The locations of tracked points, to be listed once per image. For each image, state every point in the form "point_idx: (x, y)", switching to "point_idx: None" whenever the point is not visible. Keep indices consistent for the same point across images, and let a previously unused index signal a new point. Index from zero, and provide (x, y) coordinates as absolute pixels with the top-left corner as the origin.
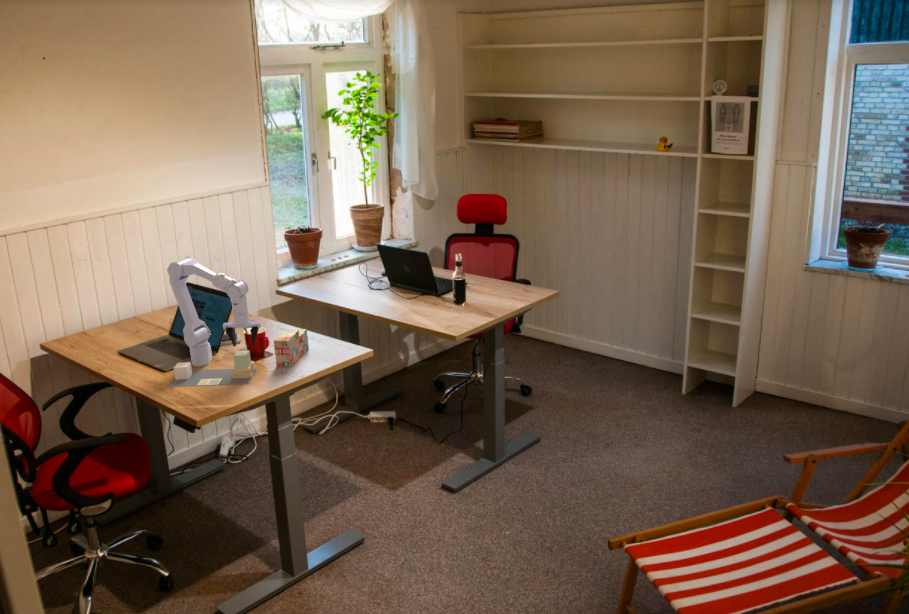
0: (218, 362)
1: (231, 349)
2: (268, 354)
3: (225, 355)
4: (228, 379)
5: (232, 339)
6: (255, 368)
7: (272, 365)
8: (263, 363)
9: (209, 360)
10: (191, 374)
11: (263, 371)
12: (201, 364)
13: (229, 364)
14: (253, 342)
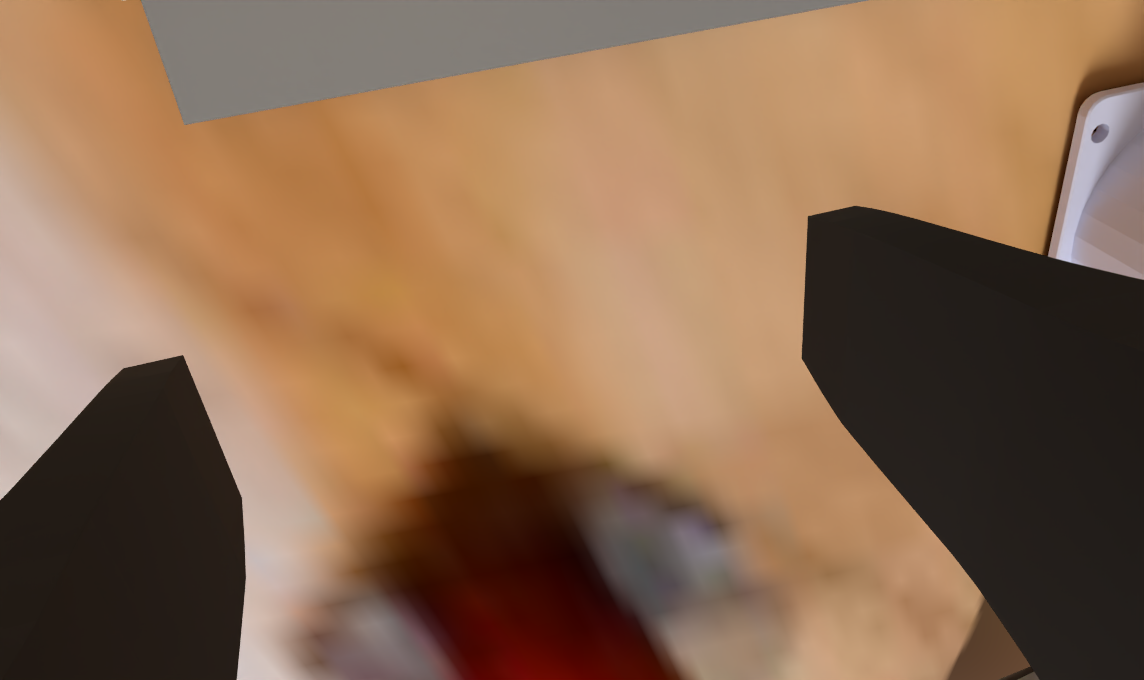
0: None
1: (875, 646)
2: (366, 650)
3: (910, 508)
4: None
5: (1038, 285)
6: (232, 87)
7: (33, 336)
8: (264, 384)
9: (1111, 246)
10: None
11: (24, 35)
12: None
13: (799, 267)
14: (90, 421)
